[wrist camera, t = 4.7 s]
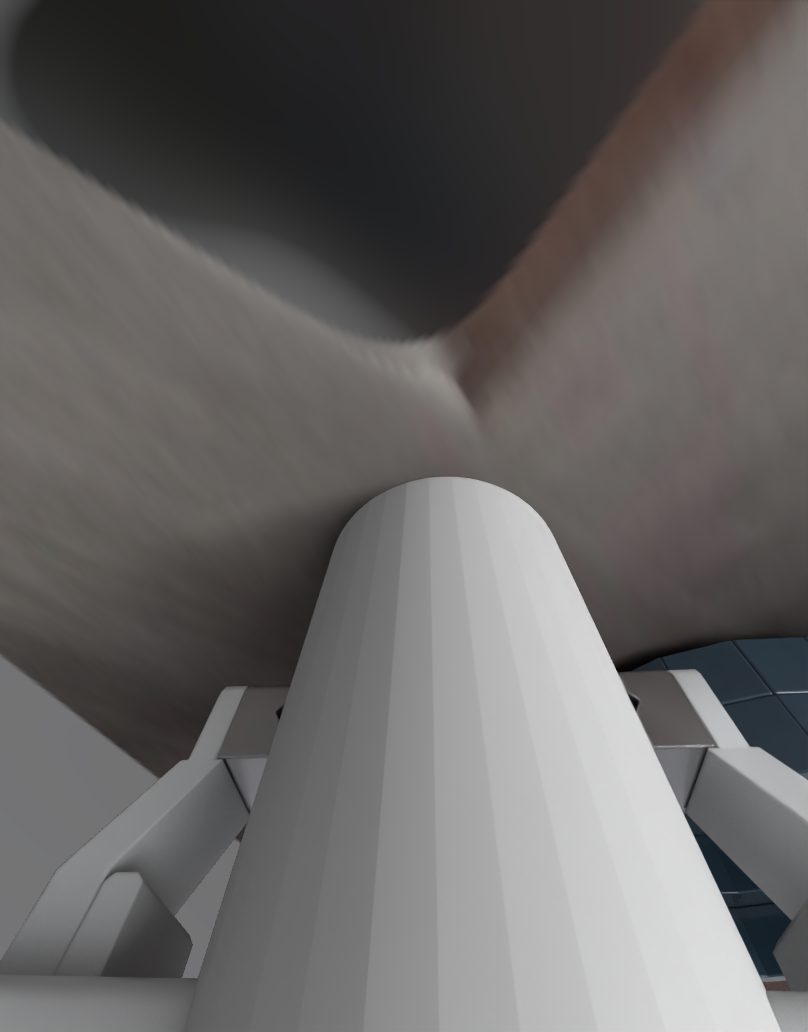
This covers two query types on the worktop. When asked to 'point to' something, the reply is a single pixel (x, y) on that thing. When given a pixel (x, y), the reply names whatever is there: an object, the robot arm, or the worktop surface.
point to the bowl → (763, 723)
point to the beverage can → (466, 809)
